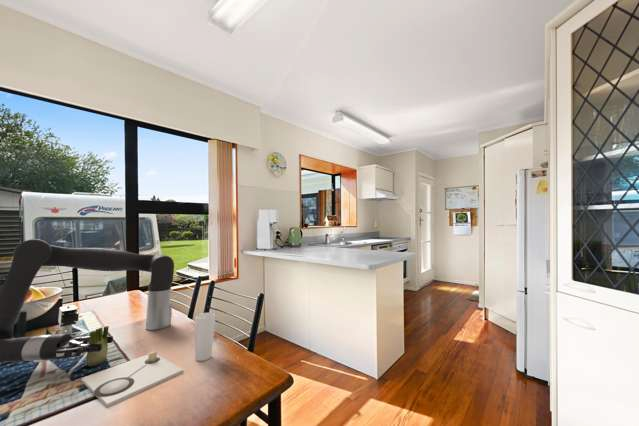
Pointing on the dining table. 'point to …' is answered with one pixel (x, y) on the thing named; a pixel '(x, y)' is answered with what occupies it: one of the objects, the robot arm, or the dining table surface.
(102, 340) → the fennel bulb
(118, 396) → the gauge board
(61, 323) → the pneumatic valve
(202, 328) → the drinking glass
